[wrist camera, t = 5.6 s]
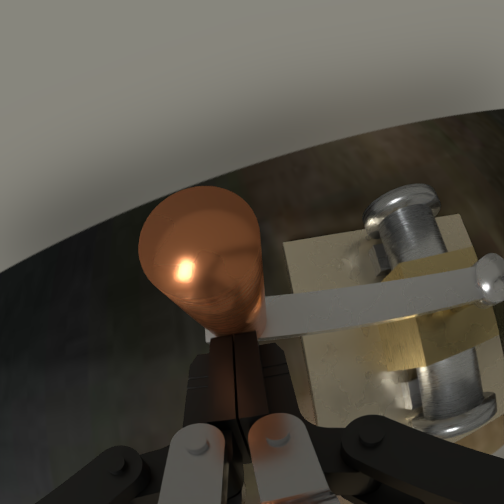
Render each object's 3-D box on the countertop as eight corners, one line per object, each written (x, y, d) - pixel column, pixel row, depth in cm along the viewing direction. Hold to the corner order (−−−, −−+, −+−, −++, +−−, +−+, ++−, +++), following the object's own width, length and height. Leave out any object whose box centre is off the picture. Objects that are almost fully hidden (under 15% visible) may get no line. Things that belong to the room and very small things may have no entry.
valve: (453, 220, 29) (506, 157, 18) (501, 409, 20) (579, 404, 9) (282, 249, 29) (287, 172, 18) (325, 483, 20) (358, 542, 9)
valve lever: (489, 261, 15) (586, 177, 6) (501, 304, 13) (611, 237, 5) (209, 299, 15) (132, 189, 6) (212, 355, 14) (121, 314, 5)
